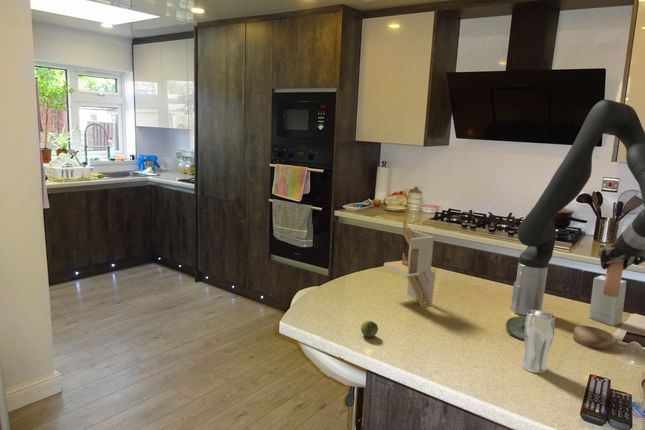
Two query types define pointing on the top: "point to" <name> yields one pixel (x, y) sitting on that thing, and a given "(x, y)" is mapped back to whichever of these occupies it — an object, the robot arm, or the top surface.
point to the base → (592, 337)
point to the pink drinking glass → (613, 278)
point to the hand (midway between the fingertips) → (611, 267)
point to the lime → (369, 329)
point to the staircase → (417, 266)
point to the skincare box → (606, 303)
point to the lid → (516, 327)
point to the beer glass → (537, 340)
